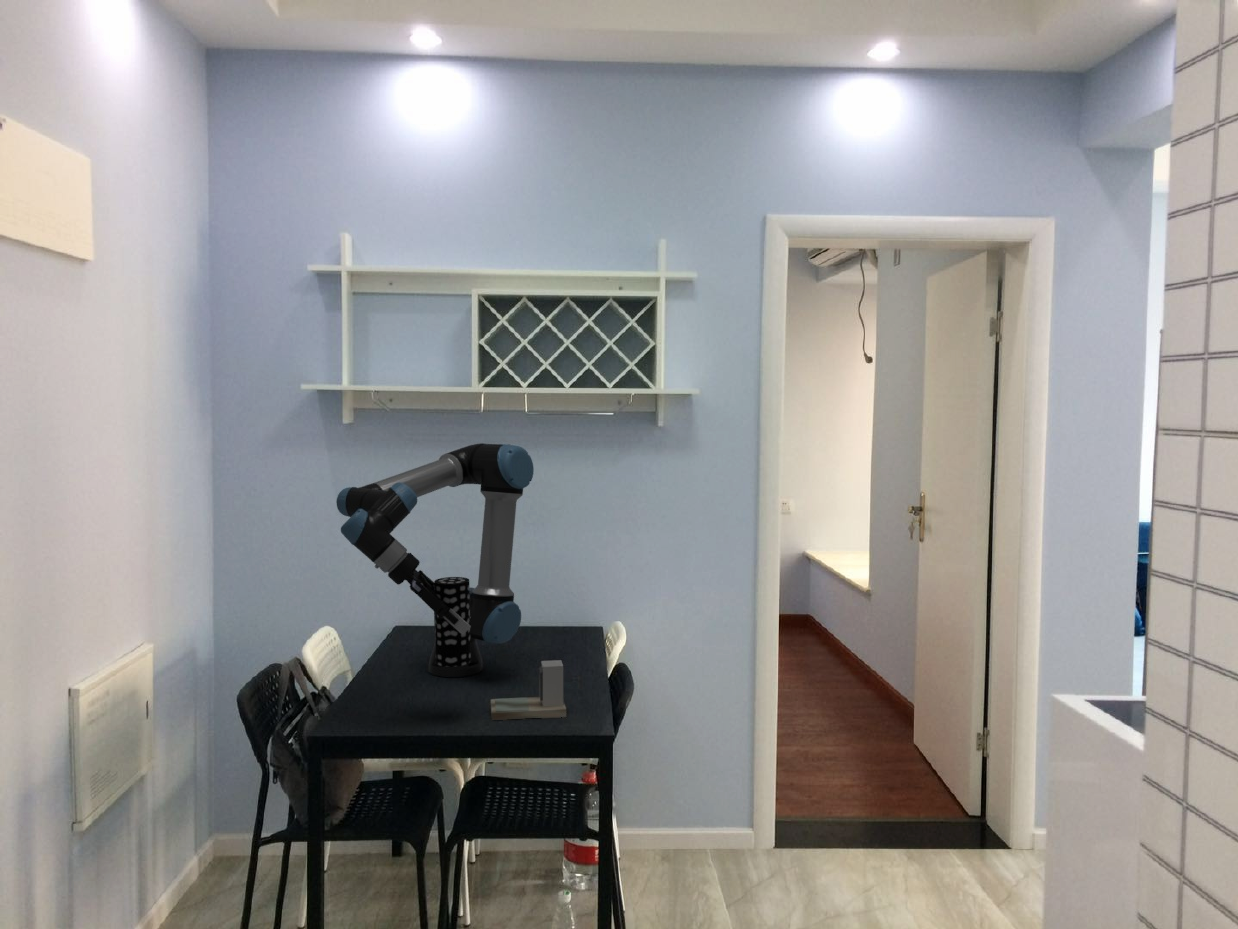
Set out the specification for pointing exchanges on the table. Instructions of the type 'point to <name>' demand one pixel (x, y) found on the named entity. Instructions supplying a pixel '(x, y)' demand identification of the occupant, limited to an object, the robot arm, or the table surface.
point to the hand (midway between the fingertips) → (466, 625)
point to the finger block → (551, 683)
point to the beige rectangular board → (524, 709)
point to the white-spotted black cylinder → (449, 640)
